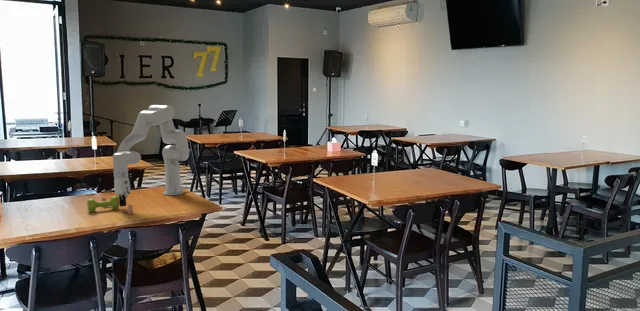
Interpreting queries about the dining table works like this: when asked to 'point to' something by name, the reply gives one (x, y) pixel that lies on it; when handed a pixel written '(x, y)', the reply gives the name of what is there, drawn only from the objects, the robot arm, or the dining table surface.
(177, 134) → the robot arm
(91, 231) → the dining table surface
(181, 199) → the dining table surface
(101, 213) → the dining table surface
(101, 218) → the dining table surface
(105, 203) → the dumbbell
